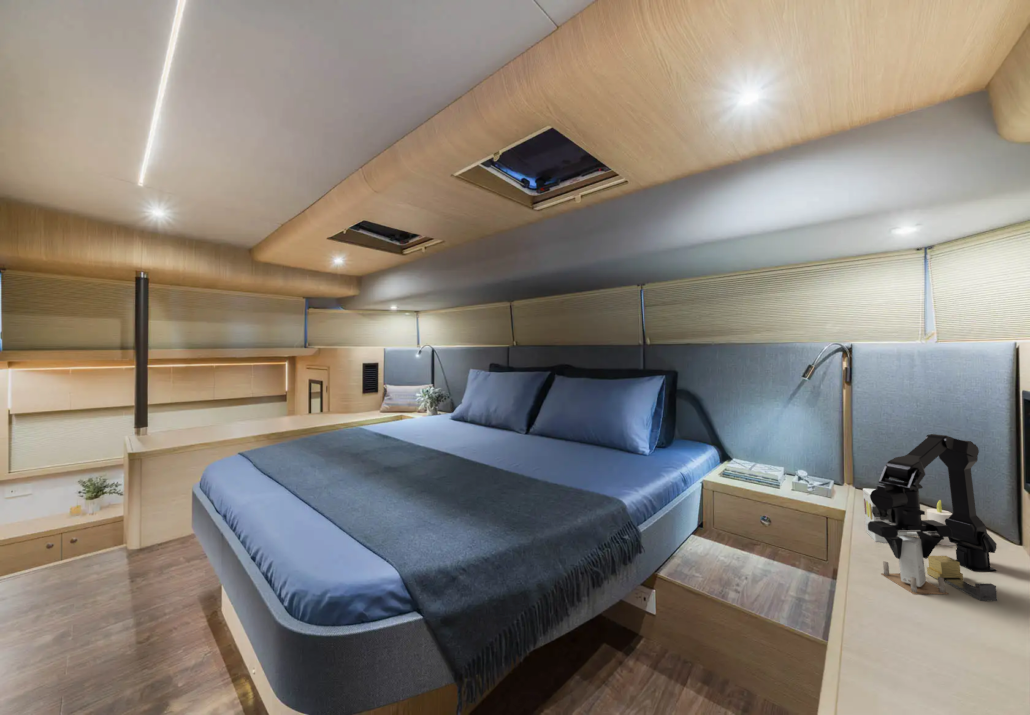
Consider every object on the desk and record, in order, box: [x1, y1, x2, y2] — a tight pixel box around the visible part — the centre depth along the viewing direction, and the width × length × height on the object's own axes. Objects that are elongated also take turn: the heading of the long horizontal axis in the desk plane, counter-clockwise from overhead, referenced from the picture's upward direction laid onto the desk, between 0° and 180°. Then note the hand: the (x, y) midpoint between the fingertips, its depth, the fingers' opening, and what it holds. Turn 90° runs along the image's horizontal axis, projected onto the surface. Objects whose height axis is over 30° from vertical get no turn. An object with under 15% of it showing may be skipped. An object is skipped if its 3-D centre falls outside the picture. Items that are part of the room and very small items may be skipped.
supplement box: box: [862, 488, 908, 544], centre depth 145 cm, size 10×9×17 cm
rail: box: [944, 578, 998, 602], centre depth 113 cm, size 4×14×4 cm, turn 175°
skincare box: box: [898, 535, 927, 587], centre depth 116 cm, size 6×4×12 cm
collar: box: [926, 555, 964, 581], centre depth 118 cm, size 6×4×5 cm, turn 85°
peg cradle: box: [880, 561, 950, 595], centre depth 116 cm, size 9×11×4 cm
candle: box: [926, 499, 956, 547], centre depth 141 cm, size 6×6×15 cm
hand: (911, 558), depth 116 cm, fingers closed on skincare box, 7 cm apart
